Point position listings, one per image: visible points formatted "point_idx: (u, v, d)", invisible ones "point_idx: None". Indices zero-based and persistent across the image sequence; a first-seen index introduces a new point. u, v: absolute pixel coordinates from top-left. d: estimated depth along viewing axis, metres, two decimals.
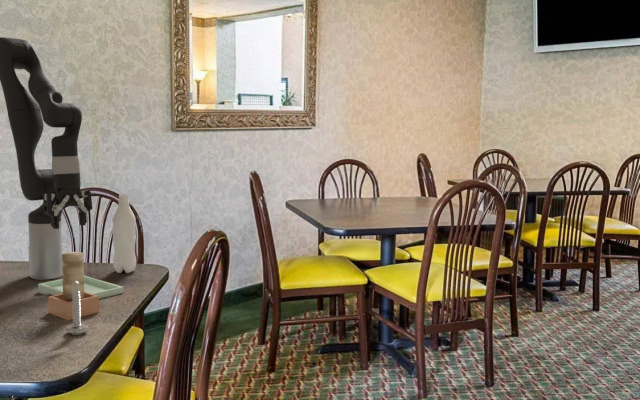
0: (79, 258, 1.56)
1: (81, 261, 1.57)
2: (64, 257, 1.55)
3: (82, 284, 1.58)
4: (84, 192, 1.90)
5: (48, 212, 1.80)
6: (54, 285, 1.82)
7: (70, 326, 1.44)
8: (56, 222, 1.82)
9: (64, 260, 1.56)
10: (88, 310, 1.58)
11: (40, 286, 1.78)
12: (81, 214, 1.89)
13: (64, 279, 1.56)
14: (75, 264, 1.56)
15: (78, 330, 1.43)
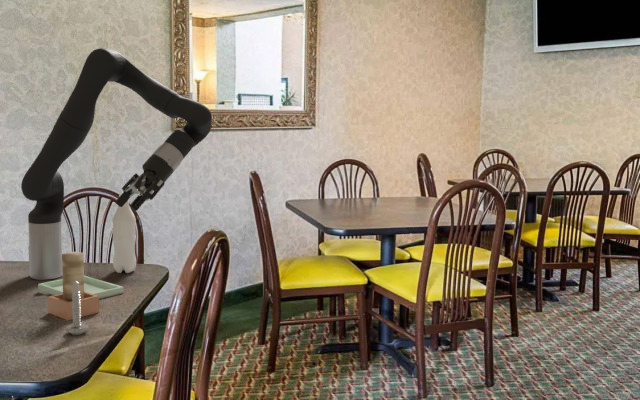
0: (79, 258, 1.56)
1: (81, 261, 1.57)
2: (64, 257, 1.55)
3: (82, 284, 1.58)
4: None
5: (152, 198, 1.67)
6: (54, 285, 1.82)
7: (70, 326, 1.44)
8: (140, 205, 1.68)
9: (64, 260, 1.56)
10: (88, 310, 1.58)
11: (40, 286, 1.78)
12: (127, 196, 1.74)
13: (64, 279, 1.56)
14: (75, 264, 1.56)
15: (78, 330, 1.43)
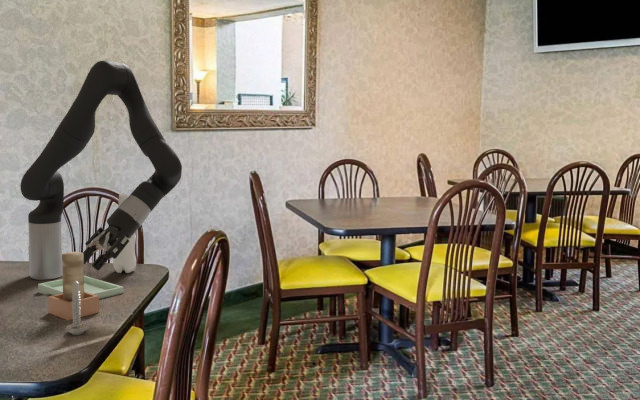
0: (79, 258, 1.56)
1: (81, 261, 1.57)
2: (64, 257, 1.55)
3: (82, 284, 1.58)
4: None
5: (116, 256, 1.58)
6: (54, 285, 1.82)
7: (70, 326, 1.44)
8: (102, 264, 1.58)
9: (64, 260, 1.56)
10: (88, 310, 1.58)
11: (40, 286, 1.78)
12: (90, 252, 1.65)
13: (64, 279, 1.56)
14: (75, 264, 1.56)
15: (78, 330, 1.43)
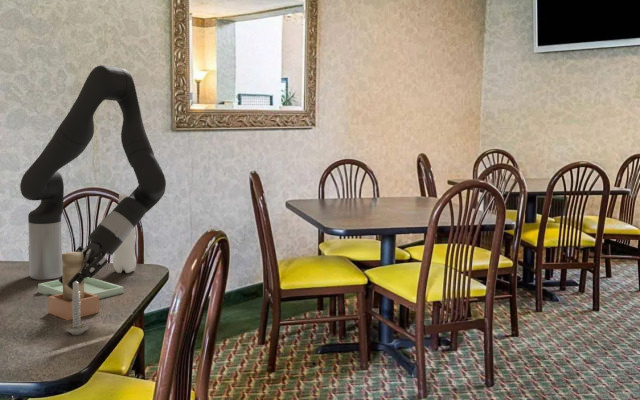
0: (79, 258, 1.56)
1: (81, 261, 1.57)
2: (64, 257, 1.55)
3: (82, 284, 1.58)
4: None
5: None
6: (54, 285, 1.82)
7: (70, 326, 1.44)
8: None
9: (64, 260, 1.56)
10: (88, 310, 1.58)
11: (40, 286, 1.78)
12: None
13: (64, 279, 1.56)
14: (75, 264, 1.56)
15: (78, 330, 1.43)
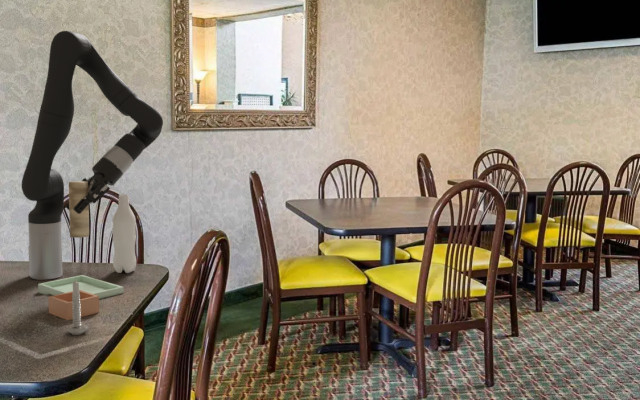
0: (84, 185, 1.73)
1: (86, 188, 1.74)
2: (70, 184, 1.73)
3: (87, 209, 1.75)
4: None
5: (95, 201, 1.73)
6: (54, 285, 1.82)
7: (70, 326, 1.44)
8: (83, 208, 1.73)
9: (70, 187, 1.73)
10: (88, 310, 1.58)
11: (40, 286, 1.78)
12: None
13: (70, 204, 1.73)
14: (81, 190, 1.73)
15: (78, 330, 1.43)
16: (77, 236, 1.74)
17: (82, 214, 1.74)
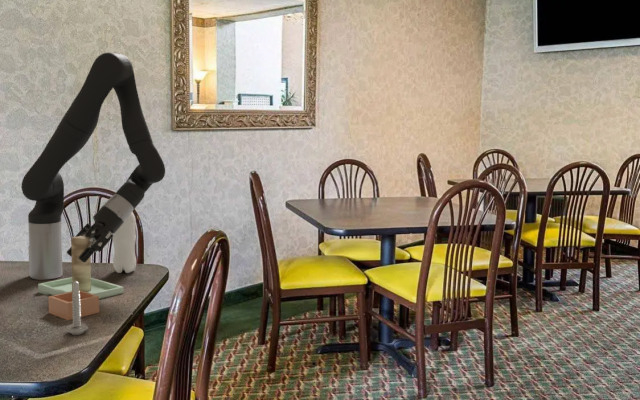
0: (86, 241, 1.76)
1: (88, 244, 1.76)
2: (73, 240, 1.75)
3: (89, 265, 1.77)
4: None
5: (100, 250, 1.74)
6: (54, 285, 1.82)
7: (70, 326, 1.44)
8: (88, 257, 1.74)
9: (73, 243, 1.75)
10: (88, 310, 1.58)
11: (40, 286, 1.78)
12: None
13: (73, 260, 1.75)
14: (83, 247, 1.75)
15: (78, 330, 1.43)
16: None
17: (84, 269, 1.76)
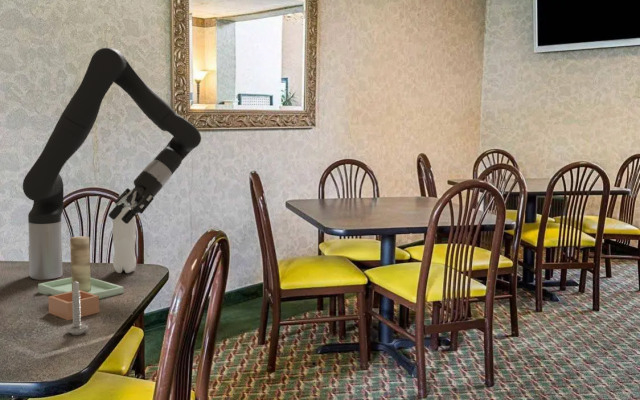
0: (85, 241, 1.75)
1: (87, 244, 1.76)
2: (72, 241, 1.75)
3: (88, 265, 1.77)
4: None
5: (142, 211, 1.81)
6: (54, 285, 1.82)
7: (70, 326, 1.44)
8: (131, 218, 1.81)
9: (72, 243, 1.75)
10: (88, 310, 1.58)
11: (40, 286, 1.78)
12: (119, 209, 1.88)
13: (72, 260, 1.75)
14: (82, 247, 1.75)
15: (78, 330, 1.43)
16: None
17: (83, 269, 1.76)
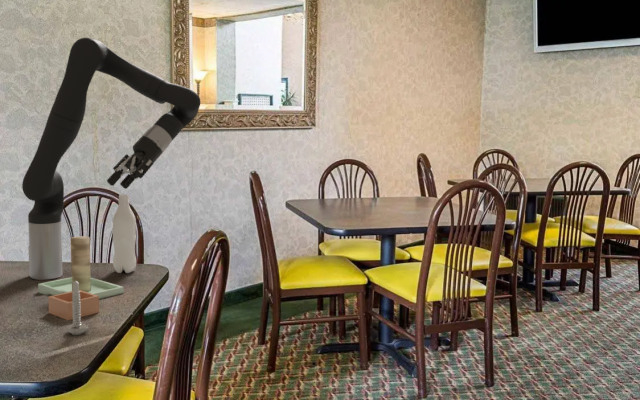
0: (85, 241, 1.75)
1: (87, 244, 1.76)
2: (72, 240, 1.75)
3: (88, 265, 1.77)
4: None
5: (141, 176, 1.76)
6: (54, 285, 1.82)
7: (70, 326, 1.44)
8: (130, 183, 1.77)
9: (72, 243, 1.75)
10: (88, 310, 1.58)
11: (40, 286, 1.78)
12: (118, 175, 1.83)
13: (72, 260, 1.75)
14: (82, 247, 1.75)
15: (78, 330, 1.43)
16: None
17: (83, 269, 1.76)
